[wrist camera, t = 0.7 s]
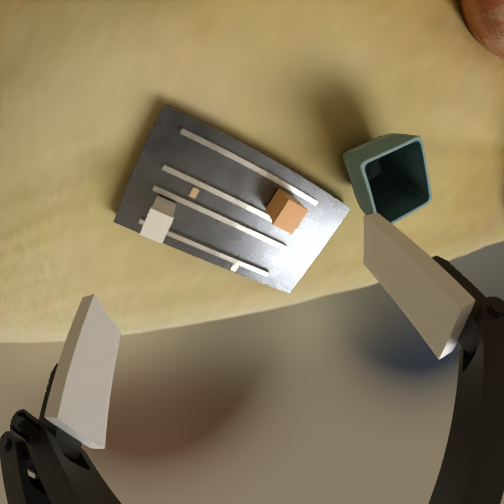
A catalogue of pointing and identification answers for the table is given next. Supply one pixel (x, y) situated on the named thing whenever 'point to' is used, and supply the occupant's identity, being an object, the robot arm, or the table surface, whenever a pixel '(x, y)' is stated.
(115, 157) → the table surface
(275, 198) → the fader orange
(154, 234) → the fader ivory
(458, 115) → the table surface
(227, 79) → the table surface
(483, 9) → the jug
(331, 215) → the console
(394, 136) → the flower pot
